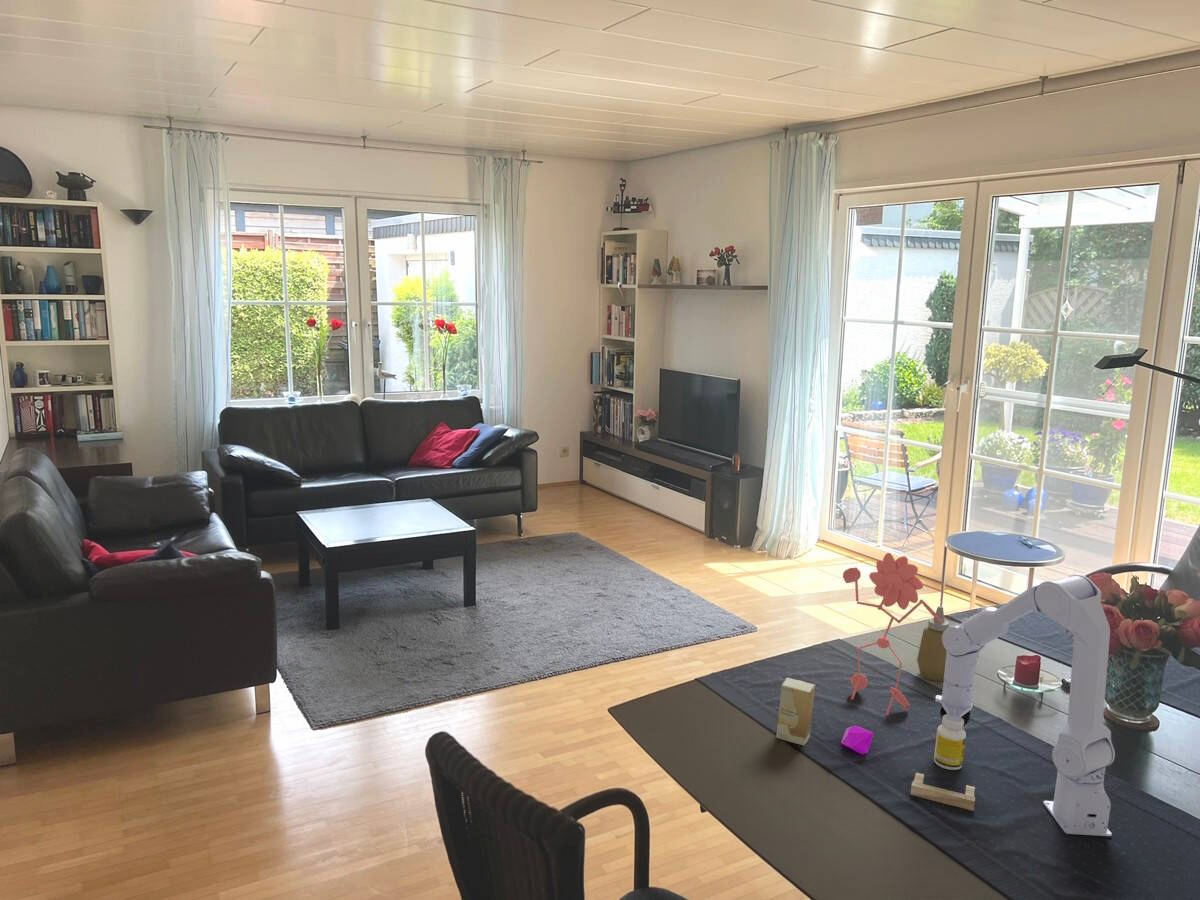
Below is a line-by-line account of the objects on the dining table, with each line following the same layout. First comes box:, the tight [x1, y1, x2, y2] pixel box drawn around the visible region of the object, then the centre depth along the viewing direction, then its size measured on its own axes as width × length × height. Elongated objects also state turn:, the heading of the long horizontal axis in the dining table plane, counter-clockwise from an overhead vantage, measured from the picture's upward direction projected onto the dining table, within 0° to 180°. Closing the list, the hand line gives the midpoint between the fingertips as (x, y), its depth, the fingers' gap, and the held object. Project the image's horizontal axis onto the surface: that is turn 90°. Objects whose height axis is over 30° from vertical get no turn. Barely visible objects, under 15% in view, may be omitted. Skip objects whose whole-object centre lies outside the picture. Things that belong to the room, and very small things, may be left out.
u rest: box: [910, 772, 976, 812], centre depth 165 cm, size 5×11×2 cm, turn 64°
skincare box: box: [776, 677, 816, 746], centre depth 184 cm, size 6×4×12 cm
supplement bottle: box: [933, 714, 967, 771], centre depth 176 cm, size 5×5×10 cm
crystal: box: [840, 725, 874, 755], centre depth 181 cm, size 5×5×5 cm
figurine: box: [842, 552, 943, 727], centre depth 200 cm, size 15×26×35 cm, turn 40°
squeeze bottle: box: [916, 605, 950, 682], centre depth 214 cm, size 8×8×18 cm
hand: (951, 742), depth 182 cm, fingers closed
